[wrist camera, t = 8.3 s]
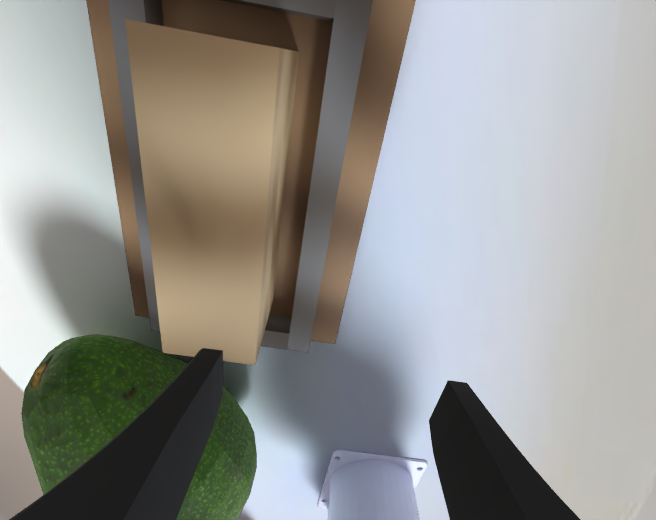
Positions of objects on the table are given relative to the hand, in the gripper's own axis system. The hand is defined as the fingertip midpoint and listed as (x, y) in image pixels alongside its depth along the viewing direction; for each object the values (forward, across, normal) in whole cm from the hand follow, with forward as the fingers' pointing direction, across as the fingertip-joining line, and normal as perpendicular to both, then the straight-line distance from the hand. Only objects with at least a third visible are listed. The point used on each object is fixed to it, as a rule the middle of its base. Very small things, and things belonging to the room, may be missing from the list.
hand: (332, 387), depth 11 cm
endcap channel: (+9, +5, -3) cm, 11 cm away
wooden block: (+8, +5, -3) cm, 10 cm away
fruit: (+9, +9, +12) cm, 17 cm away
